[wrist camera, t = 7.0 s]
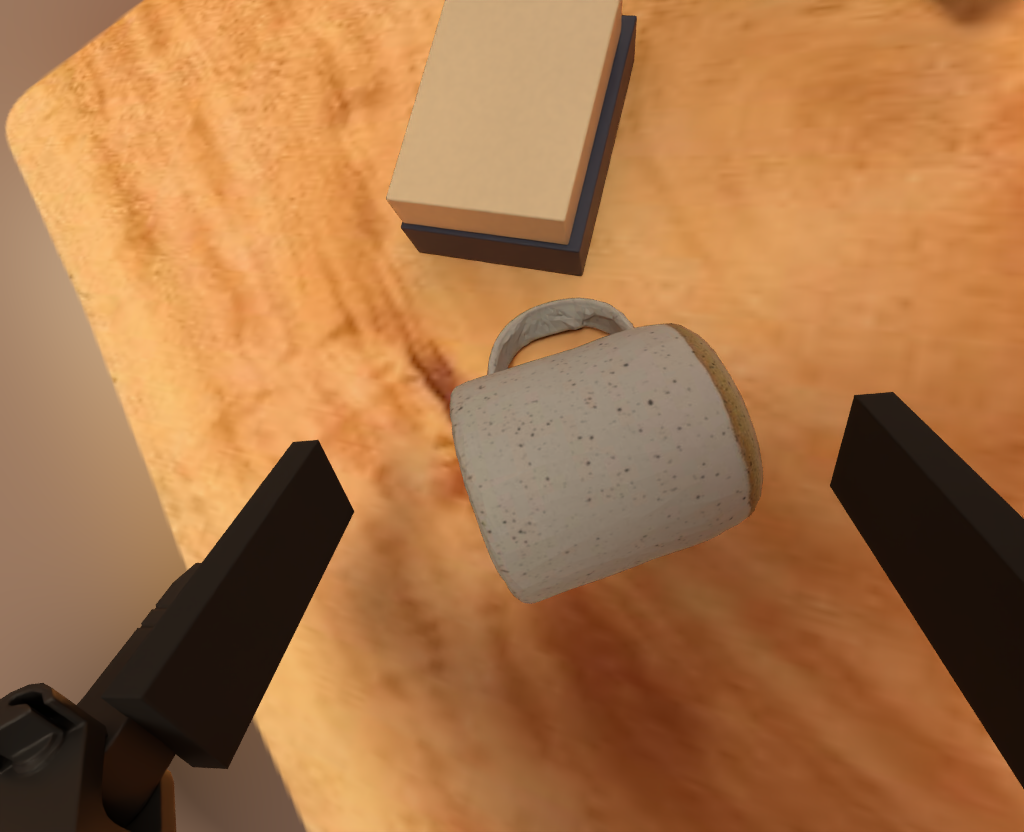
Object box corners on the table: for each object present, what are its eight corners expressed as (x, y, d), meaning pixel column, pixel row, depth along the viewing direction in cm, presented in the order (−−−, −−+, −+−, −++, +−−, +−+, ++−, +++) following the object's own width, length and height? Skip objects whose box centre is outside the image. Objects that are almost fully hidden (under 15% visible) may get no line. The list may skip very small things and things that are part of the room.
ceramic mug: (738, 516, 18) (826, 522, 11) (539, 586, 19) (497, 634, 12) (630, 282, 21) (642, 159, 14) (459, 354, 22) (383, 275, 14)
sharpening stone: (475, 53, 24) (451, -31, 21) (634, 60, 23) (640, -31, 19) (419, 252, 23) (381, 203, 19) (582, 276, 21) (577, 227, 17)
